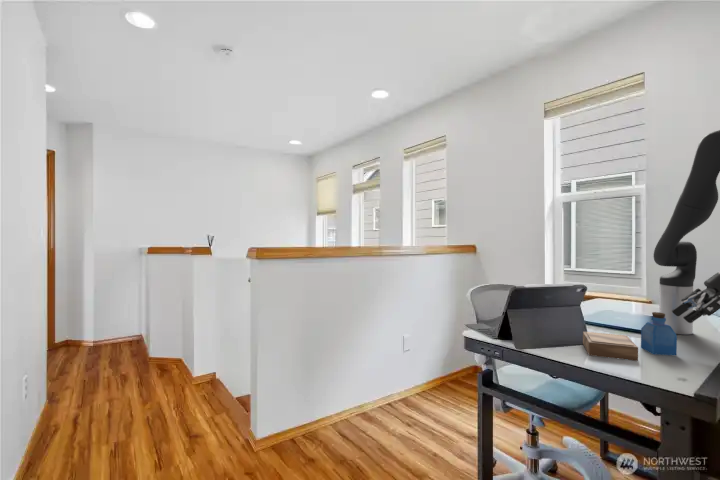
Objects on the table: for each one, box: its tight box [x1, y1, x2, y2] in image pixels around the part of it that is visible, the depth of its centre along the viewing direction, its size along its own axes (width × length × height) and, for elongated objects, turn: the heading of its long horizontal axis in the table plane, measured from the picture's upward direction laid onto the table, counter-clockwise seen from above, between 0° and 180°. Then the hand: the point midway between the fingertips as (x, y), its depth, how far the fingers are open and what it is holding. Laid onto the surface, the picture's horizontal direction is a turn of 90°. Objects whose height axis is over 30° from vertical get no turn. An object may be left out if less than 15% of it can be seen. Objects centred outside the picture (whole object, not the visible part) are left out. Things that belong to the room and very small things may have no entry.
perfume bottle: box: [640, 311, 678, 356], centre depth 108 cm, size 6×6×12 cm
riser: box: [582, 331, 639, 362], centre depth 109 cm, size 12×12×4 cm
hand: (680, 317), depth 106 cm, fingers open, 8 cm apart
